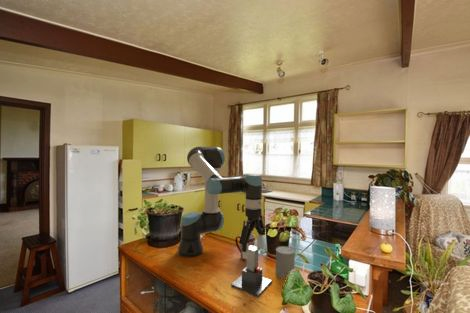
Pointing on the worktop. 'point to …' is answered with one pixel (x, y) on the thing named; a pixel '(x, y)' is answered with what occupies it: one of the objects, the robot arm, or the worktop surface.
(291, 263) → the gray cylinder
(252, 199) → the robot arm
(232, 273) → the worktop surface
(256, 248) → the column
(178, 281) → the worktop surface
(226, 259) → the worktop surface
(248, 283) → the stand base
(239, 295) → the worktop surface
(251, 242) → the mug
